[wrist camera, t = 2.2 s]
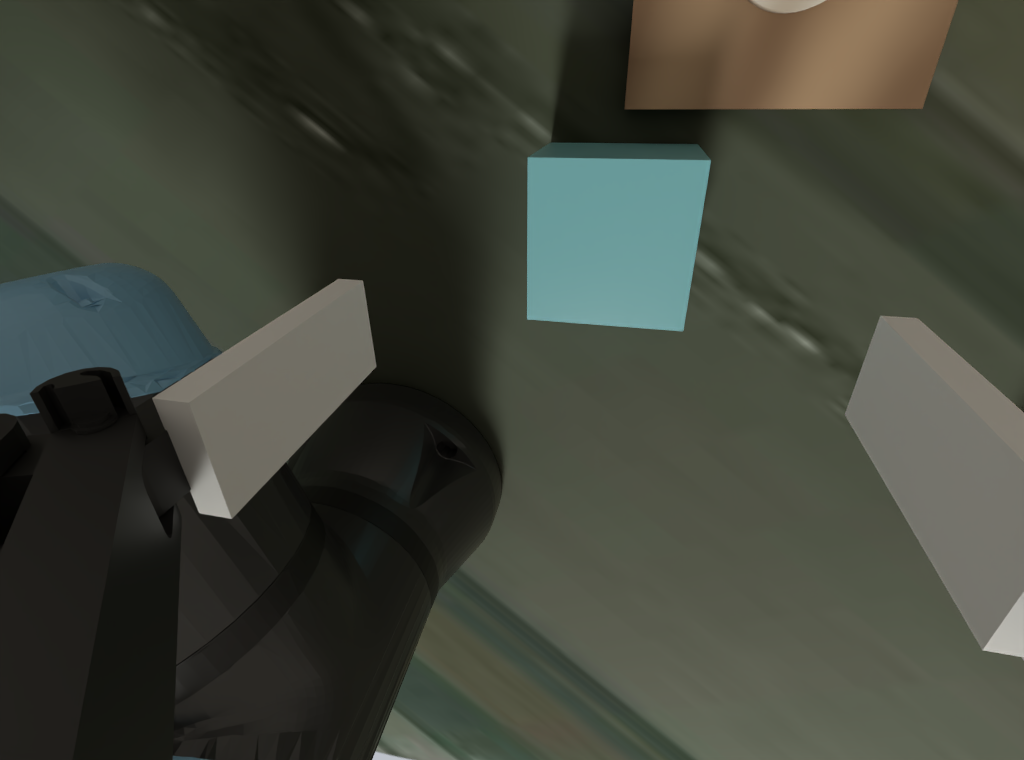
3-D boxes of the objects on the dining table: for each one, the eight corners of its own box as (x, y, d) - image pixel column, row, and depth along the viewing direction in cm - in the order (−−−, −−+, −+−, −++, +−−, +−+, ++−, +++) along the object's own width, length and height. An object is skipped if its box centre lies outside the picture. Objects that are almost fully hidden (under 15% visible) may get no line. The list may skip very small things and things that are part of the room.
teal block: (547, 278, 30) (527, 319, 24) (550, 142, 26) (527, 157, 21) (676, 286, 28) (683, 331, 23) (697, 143, 25) (710, 160, 20)
